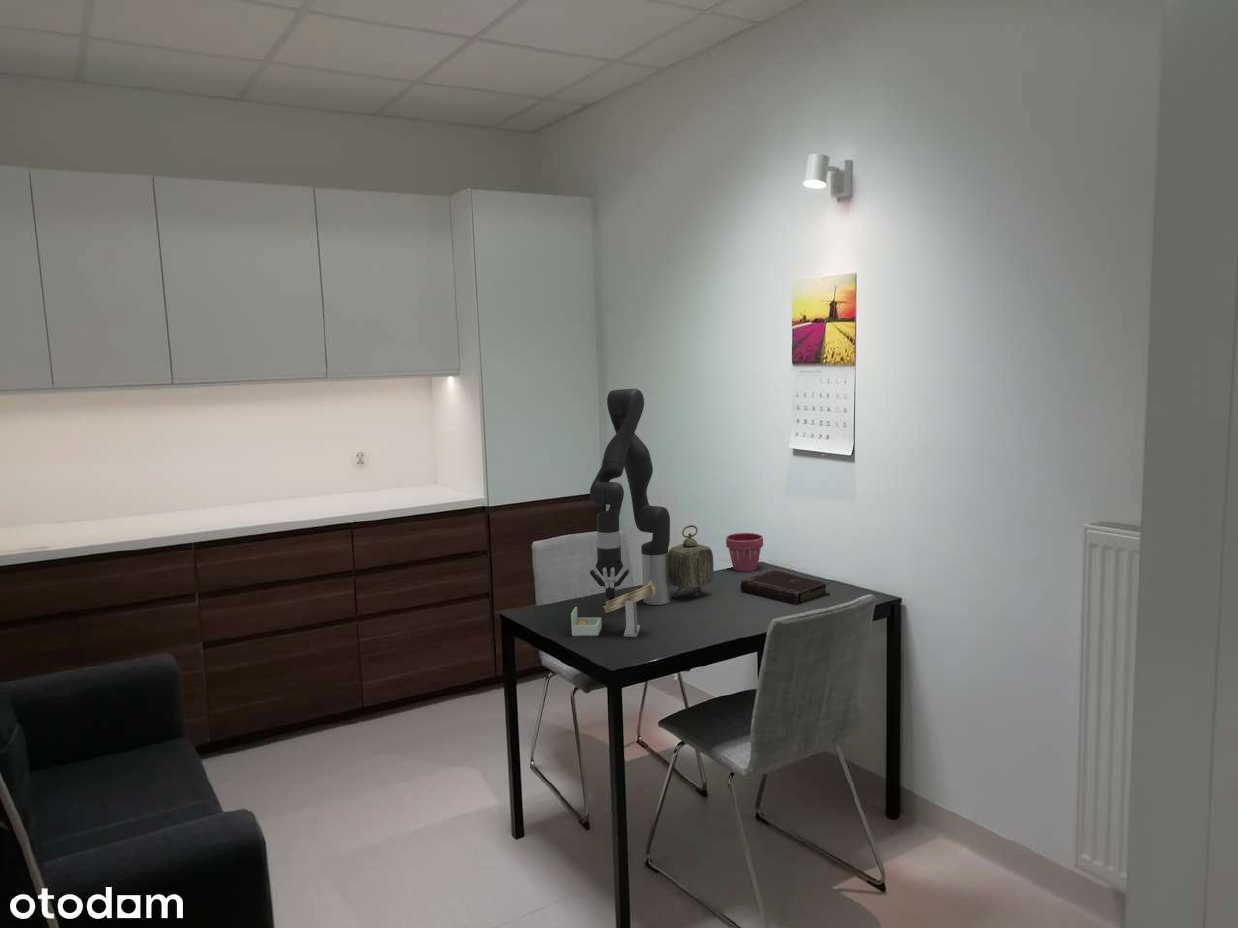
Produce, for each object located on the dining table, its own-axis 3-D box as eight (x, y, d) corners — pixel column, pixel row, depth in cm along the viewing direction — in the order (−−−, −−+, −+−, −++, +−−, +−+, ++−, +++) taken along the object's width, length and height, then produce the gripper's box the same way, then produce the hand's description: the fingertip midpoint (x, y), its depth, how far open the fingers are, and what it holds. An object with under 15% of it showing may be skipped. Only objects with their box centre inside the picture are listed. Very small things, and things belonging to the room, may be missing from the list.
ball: (589, 622, 277) (584, 631, 278) (580, 617, 277) (575, 625, 278) (588, 625, 274) (582, 634, 275) (579, 620, 274) (573, 628, 275)
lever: (605, 614, 272) (600, 604, 272) (610, 603, 283) (606, 593, 283) (654, 594, 269) (650, 584, 269) (657, 584, 281) (653, 575, 280)
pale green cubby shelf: (576, 628, 280) (575, 606, 280) (601, 627, 279) (600, 606, 279) (572, 636, 273) (570, 613, 272) (597, 636, 272) (596, 613, 271)
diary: (796, 607, 295) (795, 592, 294) (740, 593, 314) (739, 580, 314) (831, 595, 307) (831, 581, 306) (775, 582, 326) (775, 569, 325)
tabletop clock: (699, 589, 319) (696, 520, 316) (716, 594, 312) (714, 524, 309) (668, 597, 311) (665, 527, 308) (685, 602, 304) (683, 530, 301)
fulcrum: (623, 636, 270) (622, 601, 269) (627, 627, 279) (625, 593, 278) (636, 636, 270) (635, 601, 268) (639, 627, 279) (638, 592, 277)
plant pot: (749, 575, 337) (748, 541, 335) (719, 570, 346) (718, 537, 345) (770, 567, 347) (770, 535, 345) (741, 562, 357) (740, 531, 355)
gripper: (631, 542, 282) (632, 595, 284) (589, 542, 283) (591, 595, 286) (628, 547, 274) (630, 602, 276) (585, 547, 276) (588, 602, 278)
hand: (610, 598), depth 281 cm, fingers closed
